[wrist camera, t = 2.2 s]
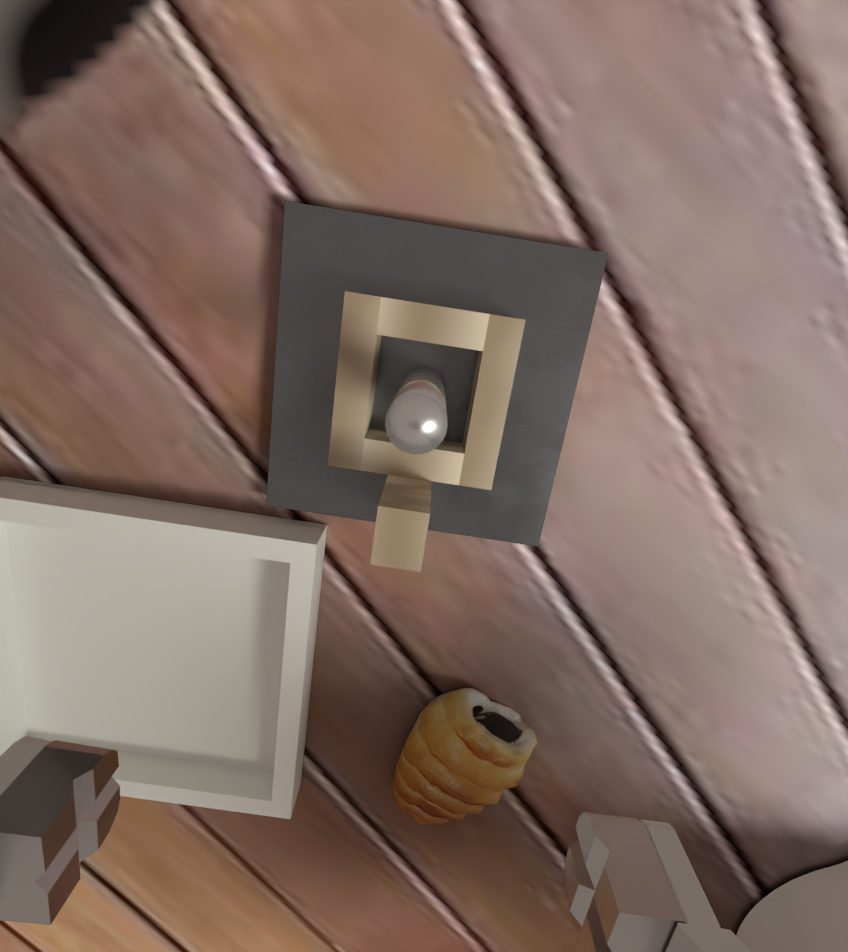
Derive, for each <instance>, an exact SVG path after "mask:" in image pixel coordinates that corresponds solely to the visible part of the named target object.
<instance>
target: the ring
mask: <svg viewBox="0 0 848 952" xmlns="http://www.w3.org/2000/svg"><path fill="white" fill-rule="evenodd" d="M525 321H526V320H524V319H517V318H511V317H505V316H499V315H492V314H486V313H480V312H473V311H467V310H461V309H454V308H448V307H442V306H435V305H429V304H423V303H417V302H410V301H404V300H398V299H391V298H385V297H379V296H372V295H366V294H360V293H353V292H347V291H345V294H344V304H343V314H342V324H341V335H340V345H339V355H338V365H337V376H336V386H335V396H334V406H333V416H332V427H331V437H330V447H329V457H328V466H335V467H341V468H348V469H355V470H361V471H368V472H374V473H381V474H388V476H387V479H386V482H385V485H384V489H383V492H382V495H381V498H380V501H379V504H378V510H377V518H376V525H375V533H374V540H373V548H372V555H371V563H370V565H376V566H382V567H389V568H396V569H403V570H409V571H416V572H421V566H422V560H423V554H424V548H425V542H426V536H427V530H428V524H429V518H430V507H431V483H432V481H434V482H440V483H447V484H453V485H460V486H467V487H473V488H480V489H486V490H491V489H492V484H493V479H494V474H495V469H496V465H497V460H498V455H499V450H500V445H501V440H502V435H503V430H504V425H505V420H506V415H507V410H508V405H509V400H510V395H511V390H512V385H513V380H514V375H515V370H516V365H517V360H518V355H519V350H520V346H521V341H522V336H523V331H524V326H525ZM381 335H383V336H389V337H396V338H402V339H408V340H415V341H421V342H428V343H434V344H440V345H447V346H453V347H459V348H466V349H472V350H478V351H479V353H478V359H477V364H476V370H475V375H474V381H473V387H472V392H471V398H470V403H469V409H468V415H467V420H466V426H465V432H464V437H463V443H459V442H452V441H446V440H443V441H442V442H441V444H440V445H439V446H438V447H436V448H435V449H434V450H432V451H430V452H428V453H425V454H417V455H415V454H409V453H406V452H403V451H401V450H400V449H398V448H397V447H396V446H394V444H393V443H392V442H391V441H390V439H389V437H388V435H387V432H386V431H380V430H374V429H370V426H371V417H372V409H373V401H374V393H375V384H376V376H377V368H378V360H379V351H380V343H381Z"/></svg>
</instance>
